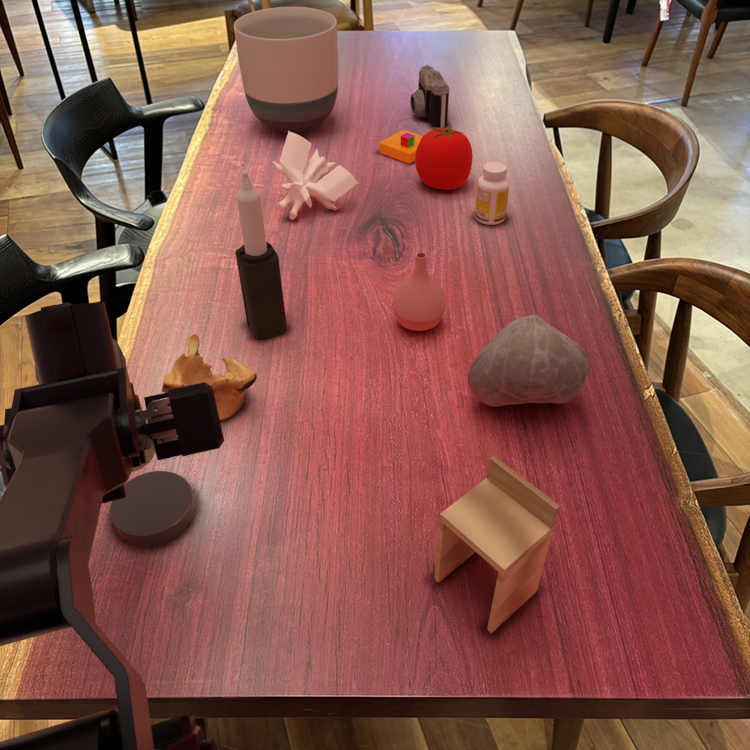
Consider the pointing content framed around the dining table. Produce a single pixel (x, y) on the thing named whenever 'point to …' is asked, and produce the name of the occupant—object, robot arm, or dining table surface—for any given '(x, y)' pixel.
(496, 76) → the dining table surface
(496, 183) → the supplement bottle
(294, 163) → the figurine
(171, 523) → the trivet
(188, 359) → the bone
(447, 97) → the camera
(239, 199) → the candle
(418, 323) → the pink bud vase
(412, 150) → the orange square tile
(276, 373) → the dining table surface
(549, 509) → the miniature wooden chair
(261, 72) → the planter
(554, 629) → the dining table surface
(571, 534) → the dining table surface
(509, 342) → the decorative stone
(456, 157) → the tomato
